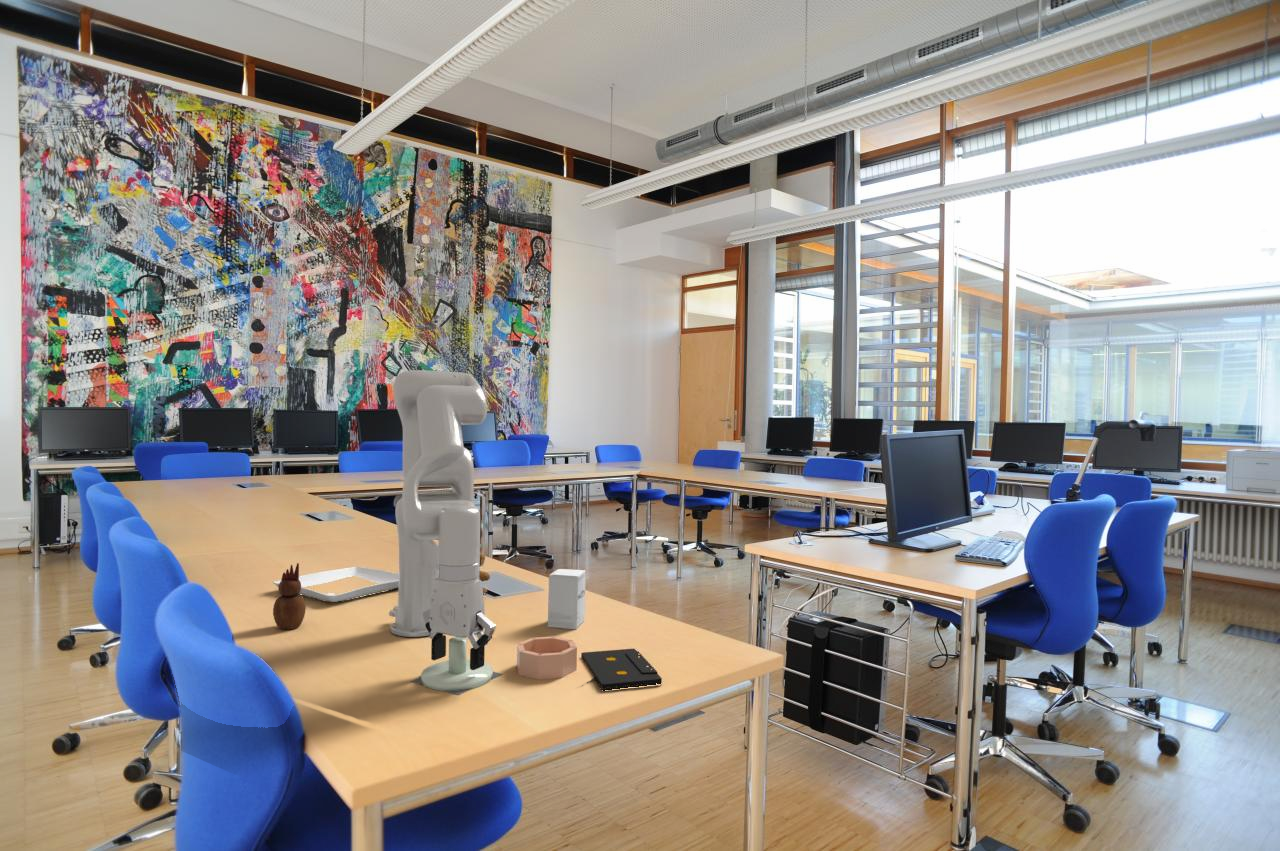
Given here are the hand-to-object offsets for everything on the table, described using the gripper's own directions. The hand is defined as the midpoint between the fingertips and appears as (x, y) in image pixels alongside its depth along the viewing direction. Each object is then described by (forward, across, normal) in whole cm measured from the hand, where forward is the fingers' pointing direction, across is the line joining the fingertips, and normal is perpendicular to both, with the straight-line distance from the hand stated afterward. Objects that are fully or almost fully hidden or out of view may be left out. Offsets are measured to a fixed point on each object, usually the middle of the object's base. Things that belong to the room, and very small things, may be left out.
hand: (457, 663), depth 133 cm
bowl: (+3, +11, +13) cm, 17 cm away
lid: (+3, 0, 0) cm, 3 cm away
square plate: (+4, -75, +34) cm, 82 cm away
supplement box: (+4, -4, +41) cm, 41 cm away
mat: (+3, 0, 0) cm, 3 cm away
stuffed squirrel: (+4, -42, +46) cm, 63 cm away
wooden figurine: (+4, -56, +4) cm, 56 cm away
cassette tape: (+4, +23, +20) cm, 31 cm away
